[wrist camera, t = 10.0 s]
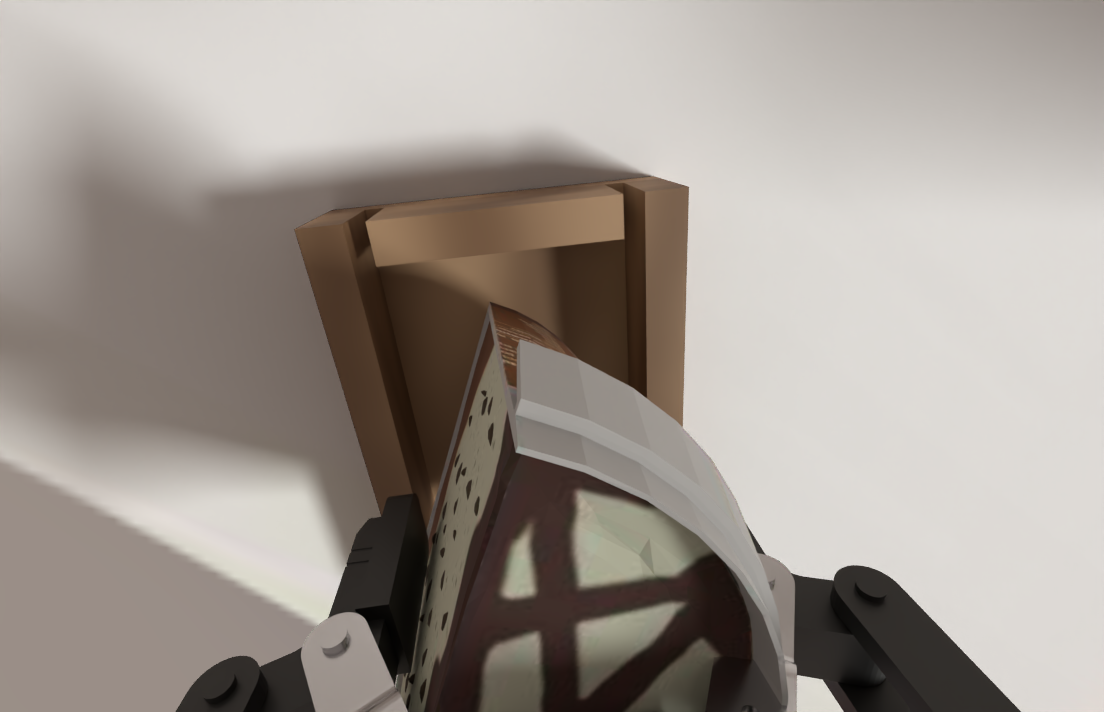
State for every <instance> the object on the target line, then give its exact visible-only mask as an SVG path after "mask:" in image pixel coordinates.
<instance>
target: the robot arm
mask: <svg viewBox="0 0 1104 712" xmlns="http://www.w3.org/2000/svg"><path fill="white" fill-rule="evenodd" d="M746 526H747V525H746ZM747 528H748V526H747ZM748 531H749V533H750V536H751V538H752V541H753V543H754V546H755V548H756V551H757V553H758V556H759V558H760V561H761V563H762V566H763V568H764V571H765V574H766V577H767V580H768V583H769V586H770V589H771V592H772V595H773V598H774V601H775V604H776V607H777V610H778V615H779V624H780V633H781V643H782V651H783V654H784V660H785V669H786V678H787V687H788V697H789V698H788V706H785V705H781V703H780V702H779V700H778V698H777V697H776V695H775V693H774V692H773V690H772V688H771V687H770V685H769V683H768V682H767V680H766V678H765V677H764V675H763V673H762V672H761V670H760V669H759V667H758V665H757V664H756V662H755V661H754V659H751V660H749V659H742V658H735V657H727V656H719V657H714V660H713V666H712V673H711V679H710V685H709V691H708V698H707V704H706V710H705V712H797V675H801V676H807V677H812V678H818V679H823V681H824V682H825V684H826V685H827V687H828V688H829V690H830V691H831V693H832V694H833V696H834V697H835V699H836V700H837V702H838V703H839V705H840V706H841V708H842V710H843V711H844V712H1021V711H1020V710H1019V709H1018V708H1017V707H1016V706H1015V705H1014V704H1013V703H1012V702H1011V701H1010V700H1009V699H1008V698H1007V697H1006V696H1005V695H1004V694H1003V693H1002V692H1001V691H1000V689H999V688H998V687H997V686H996V685H995V684H994V683H993V682H992V681H991V680H990V679H989V678H988V677H987V676H986V675H985V674H984V673H983V672H982V671H981V670H980V669H979V668H978V667H977V666H976V665H975V663H974V662H973V661H972V660H971V659H970V658H969V657H968V656H967V655H966V654H965V653H964V652H963V651H962V650H961V649H960V648H959V647H958V646H957V645H956V644H955V643H954V642H953V641H952V640H951V639H950V638H949V636H948V635H947V634H946V633H945V632H944V631H943V630H942V629H941V628H940V627H939V626H938V625H937V624H936V623H935V622H934V621H933V620H932V619H931V618H930V617H929V616H928V615H927V614H926V613H925V612H924V610H923V609H922V608H921V607H920V606H919V605H918V604H917V603H916V602H915V601H914V600H913V599H912V598H911V597H910V596H909V595H908V594H907V593H906V592H905V591H904V590H903V589H902V588H901V587H900V586H899V585H898V584H897V583H896V582H895V581H894V580H893V579H891V578H890V577H889V576H887V575H885V574H884V573H882V572H880V571H878V570H875V569H872V568H869V567H865V566H854V565H853V566H847V567H843V568H842V569H840V570H839V571H838V572H837V573H836V574H835V577H834V581H832V580H824V579H817V578H809V577H803V576H798V575H795V574H792V573H791V572H790V571H789V570H788V568H787V567H786V566H785V565H784V564H782V563H781V562H780V561H778V560H776V559H775V558H772V557H770V556H767V555H766V554H765V553H764V552H763V550H762V548H761V547H760V545H759V544H758V542H757V540H756V539H755V537H754V536H753V534H752V532H751V531H750V529H749V528H748ZM428 557H429V542H428V535H427V530H426V527H425V523H424V519H423V515H422V511H421V507H420V503H419V499H418V496H417V494H416V493H413V494H405V495H398V496H390V497H388V498H387V500H386V503H385V506H384V510H383V513H382V517H377V518H370V519H369V520H368V521H367V522H366V523H365V524H364V526H363V527H362V528H361V529H360V530H359V532H358V533H357V535H356V537H355V540H354V543H353V546H352V549H351V553H350V555H349V558H348V561H347V567H345V570H344V573H343V576H342V579H341V582H340V585H339V588H338V591H337V594H336V597H335V600H334V603H333V606H332V608H331V611H330V614H329V617H328V618H327V619H326V620H324V621H323V622H321V623H320V624H319V625H318V626H316V627H315V628H314V629H313V630H312V632H311V633H310V634H309V635H308V637H307V638H306V640H305V642H304V644H303V647H302V648H300V649H298V650H297V651H295V652H293V653H291V654H288V655H286V656H284V657H282V658H279V659H277V660H275V661H272V662H270V663H268V664H265V665H263V666H261V667H259V665H258V663H257V662H256V661H255V660H254V659H253V658H251V657H248V656H236V657H232V658H229V659H227V660H224V661H222V662H220V663H218V664H216V665H214V666H213V667H211V668H210V669H208V670H207V671H206V672H205V673H204V674H202V675H201V676H200V677H199V678H198V679H197V680H196V682H195V683H194V684H193V685H192V686H191V688H190V689H189V691H188V692H187V694H186V695H185V697H184V699H183V700H182V702H181V704H180V706H179V707H178V709H177V710H176V712H408V711H407V709H406V706H405V704H404V702H403V699H402V697H401V695H400V693H399V691H398V689H396V687H395V681H396V675H398V674H404V673H411V669H412V662H413V656H414V649H415V643H416V636H417V629H418V623H419V616H420V610H421V603H422V597H423V590H424V584H425V577H426V571H427V564H428Z"/></svg>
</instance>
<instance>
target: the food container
mask: <svg viewBox="0 0 1104 712" xmlns="http://www.w3.org/2000/svg"><path fill="white" fill-rule="evenodd" d="M427 535H428V542H429V557H428V564H427V571H426V577H425V584H424V590H423V597H422V603H421V610H420V616H419V623H418V629H417V636H416V643H415V649H414V656H413V662H412V669H411V673H404V674H398V678H397V684H396V689H398V691H399V693H400V695H401V697H402V699H403V702H404V704H405V706H406V709H407V711H408V712H705V710H706V704H707V698H708V691H709V685H710V679H711V673H712V666H713V660H714V657H719V656H727V657H735V658H742V659H749V660H751V659H754V661H755V662H756V664H757V665H758V667H759V669H760V670H761V672H762V673H763V675H764V677H765V678H766V680H767V682H768V683H769V685H770V687H771V688H772V690H773V692H774V693H775V695H776V697H777V698H778V700H779V702H780V703H781V705H785V706H788V698H789V697H788V687H787V678H786V669H785V660H784V654H783V651H782V643H781V633H780V624H779V615H778V610H777V607H776V604H775V601H774V598H773V595H772V592H771V589H770V586H769V583H768V580H767V577H766V574H765V571H764V568H763V566H762V563H761V561H760V558H759V556H758V553H757V551H756V548H755V546H754V543H753V541H752V538H751V536H750V533H749V531H748V528H747V526H746V523H745V521H744V518H743V516H742V513H741V511H740V508H739V506H738V503H737V501H736V499H735V497H734V495H733V494H732V492H731V490H730V489H729V487H728V486H727V484H726V482H725V481H724V479H723V477H722V476H721V474H720V472H719V471H718V469H717V467H716V466H715V464H714V462H713V461H712V459H711V458H710V457H709V456H708V455H707V454H706V453H705V452H704V450H703V449H702V448H701V447H700V446H699V445H698V444H697V443H696V442H695V441H694V440H693V438H692V437H691V436H690V435H689V434H688V433H687V432H686V431H685V430H684V429H683V427H682V426H681V425H680V424H679V423H678V422H677V421H676V420H674V419H673V418H672V417H670V416H669V415H668V414H667V413H665V412H664V411H663V410H661V409H660V408H659V407H657V406H656V405H655V404H653V403H652V402H651V401H649V400H648V399H647V398H646V397H644V396H643V395H642V394H640V393H639V392H638V391H636V390H635V389H634V388H632V387H630V386H629V385H627V384H625V383H623V382H621V381H619V380H617V379H615V378H613V377H611V376H609V375H608V374H606V373H604V372H602V371H600V370H598V369H596V368H594V367H592V366H590V365H588V364H586V363H585V362H583V361H581V360H579V359H578V358H577V357H576V355H575V354H574V353H573V352H572V351H571V350H570V349H569V348H568V347H567V346H566V345H565V344H564V343H563V342H562V341H561V340H560V339H559V338H558V337H557V336H556V335H555V334H553V333H552V332H551V331H549V330H548V329H547V328H545V327H544V326H543V325H541V324H540V323H539V322H537V321H535V320H533V319H531V318H529V317H527V316H525V315H524V314H522V313H520V312H518V311H516V310H513V309H510V308H507V307H504V306H501V305H498V304H495V303H492V302H489V306H488V310H487V313H486V317H485V321H484V324H483V328H482V332H481V335H480V339H479V342H478V346H477V350H476V353H475V357H474V361H473V364H472V368H471V371H470V375H469V379H468V382H467V386H466V390H465V393H464V397H463V400H462V404H461V408H460V411H459V415H458V419H457V422H456V426H455V429H454V433H453V437H452V440H451V444H450V448H449V451H448V455H447V458H446V462H445V466H444V469H443V473H442V477H441V480H440V484H439V487H438V491H437V495H436V498H435V502H434V506H433V509H432V513H431V516H430V520H429V524H428V527H427Z"/></svg>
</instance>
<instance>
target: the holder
mask: <svg viewBox="0 0 1104 712" xmlns="http://www.w3.org/2000/svg"><path fill="white" fill-rule="evenodd" d="M688 198H689V187H687V186H684V185H681V184H677V183H674V182H671V181H667V180H664V179H661V178H657V177H654V176H651V177H642V178H632V179H623V180H614V181H604V182H595V183H585V184H576V185H566V186H557V187H547V188H538V189H528V190H519V191H510V192H500V193H491V194H481V195H472V196H462V197H453V198H443V199H434V200H424V201H415V202H406V203H396V204H387V205H377V206H368V207H358V208H349V209H339V210H332V211H330V212H328V213H326V214H324V215H322V216H320V217H318V218H316V219H314V220H312V221H310V222H308V223H306V224H304V225H302V226H300V227H298V228H296V229H294V230H295V233H296V237H297V240H298V243H299V246H300V250H301V253H302V256H303V260H304V263H305V266H306V269H307V273H308V276H309V279H310V283H311V286H312V289H313V293H314V296H315V299H316V302H317V306H318V309H319V312H320V316H321V319H322V322H323V325H324V329H325V332H326V335H327V339H328V342H329V345H330V348H331V352H332V355H333V358H334V362H335V365H336V368H337V372H338V375H339V378H340V381H341V385H342V388H343V391H344V395H345V398H346V401H347V404H348V408H349V411H350V414H351V418H352V421H353V424H354V428H355V431H356V434H357V437H358V441H359V444H360V447H361V451H362V454H363V457H364V460H365V464H366V467H367V470H368V474H369V477H370V480H371V483H372V487H373V490H374V493H375V497H376V500H377V503H378V507H379V510H380V513H381V516H382V513H383V510H384V506H385V503H386V500H387V498H388V497H390V496H398V495H405V494H413V493H416V494H417V496H418V499H419V503H420V507H421V511H422V515H423V519H424V523H425V527H426V530H427V527H428V524H429V520H430V516H431V513H432V509H433V506H434V502H435V498H436V495H437V491H438V487H439V484H440V480H441V477H442V473H443V469H444V466H445V462H446V458H447V455H448V451H449V448H450V444H451V440H452V437H453V433H454V429H455V426H456V422H457V419H458V415H459V411H460V408H461V404H462V400H463V397H464V393H465V390H466V386H467V382H468V379H469V375H470V371H471V368H472V364H473V361H474V357H475V353H476V350H477V346H478V342H479V339H480V335H481V332H482V328H483V324H484V321H485V317H486V313H487V310H488V306H489V302H492V303H495V304H498V305H501V306H504V307H507V308H510V309H513V310H516V311H518V312H520V313H522V314H524V315H525V316H527V317H529V318H531V319H533V320H535V321H537V322H539V323H540V324H541V325H543V326H544V327H545V328H547V329H548V330H549V331H551V332H552V333H553V334H555V335H556V336H557V337H558V338H559V339H560V340H561V341H562V342H563V343H564V344H565V345H566V346H567V347H568V348H569V349H570V350H571V351H572V352H573V353H574V354H575V355H576V357H577V358H578V359H579V360H581V361H583V362H585V363H586V364H588V365H590V366H592V367H594V368H596V369H598V370H600V371H602V372H604V373H606V374H608V375H609V376H611V377H613V378H615V379H617V380H619V381H621V382H623V383H625V384H627V385H629V386H630V387H632V388H634V389H635V390H636V391H638V392H639V393H640V394H642V395H643V396H644V397H646V398H647V399H648V400H649V401H651V402H652V403H653V404H655V405H656V406H657V407H659V408H660V409H661V410H663V411H664V412H665V413H667V414H668V415H669V416H670V417H672V418H673V419H674V420H676V421H677V422H678V423H679V424H680V425H681V426H682V427H683V390H684V352H685V313H686V275H687V237H688Z"/></svg>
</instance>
